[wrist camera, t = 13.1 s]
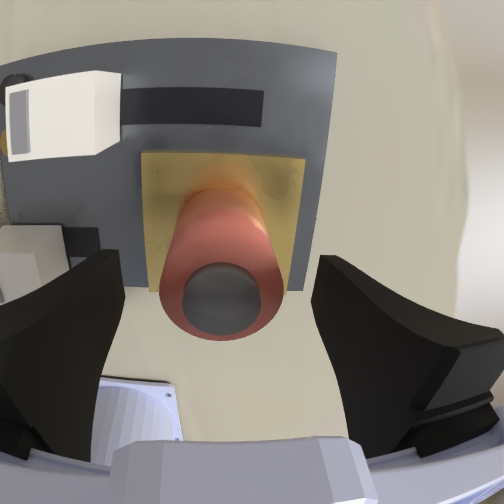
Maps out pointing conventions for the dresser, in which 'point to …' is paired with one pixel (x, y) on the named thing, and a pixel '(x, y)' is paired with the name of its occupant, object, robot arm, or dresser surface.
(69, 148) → the block
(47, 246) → the block
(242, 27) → the dresser surface
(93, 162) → the panel
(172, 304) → the cap
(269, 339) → the dresser surface
